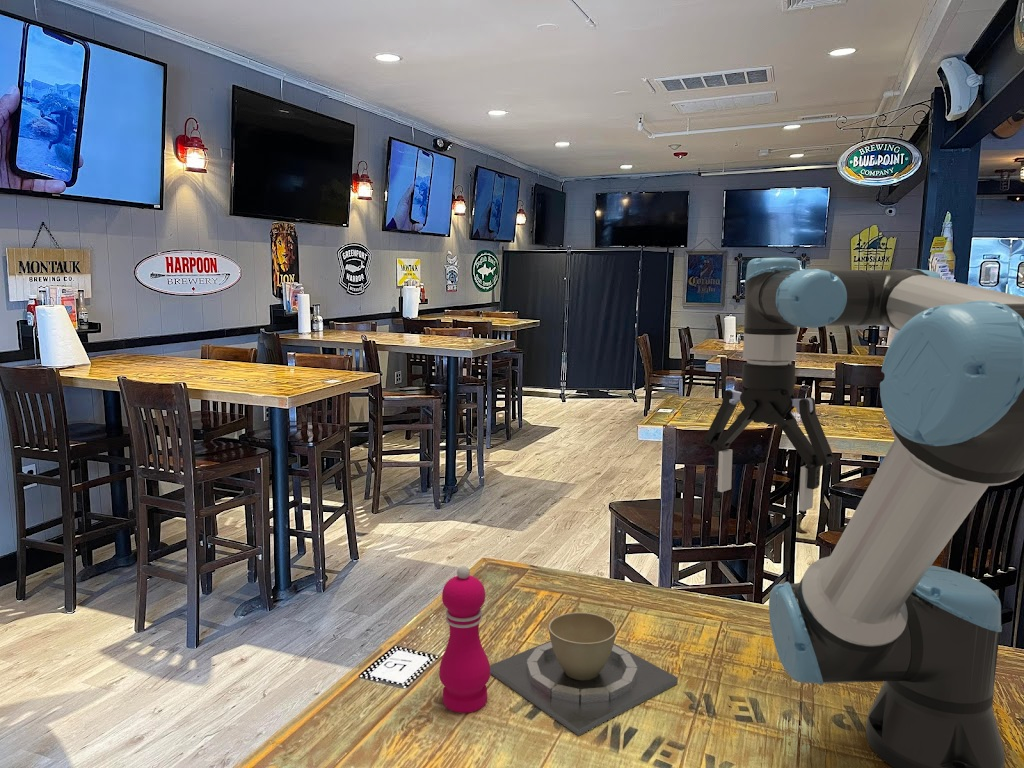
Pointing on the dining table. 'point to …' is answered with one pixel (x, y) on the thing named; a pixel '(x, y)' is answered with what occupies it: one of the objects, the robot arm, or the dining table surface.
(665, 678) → the ring plate
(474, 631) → the pepper mill
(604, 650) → the flower pot
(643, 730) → the dining table surface
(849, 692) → the dining table surface
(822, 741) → the dining table surface
